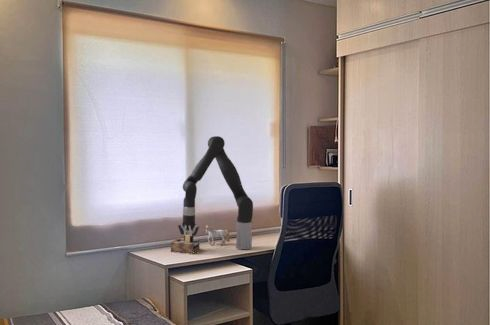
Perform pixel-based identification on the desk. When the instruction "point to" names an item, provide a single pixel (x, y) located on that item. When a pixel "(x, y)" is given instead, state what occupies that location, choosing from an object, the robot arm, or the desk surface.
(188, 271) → the desk surface
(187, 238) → the slate lid
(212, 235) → the unicorn figurine
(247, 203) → the robot arm
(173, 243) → the walnut box
